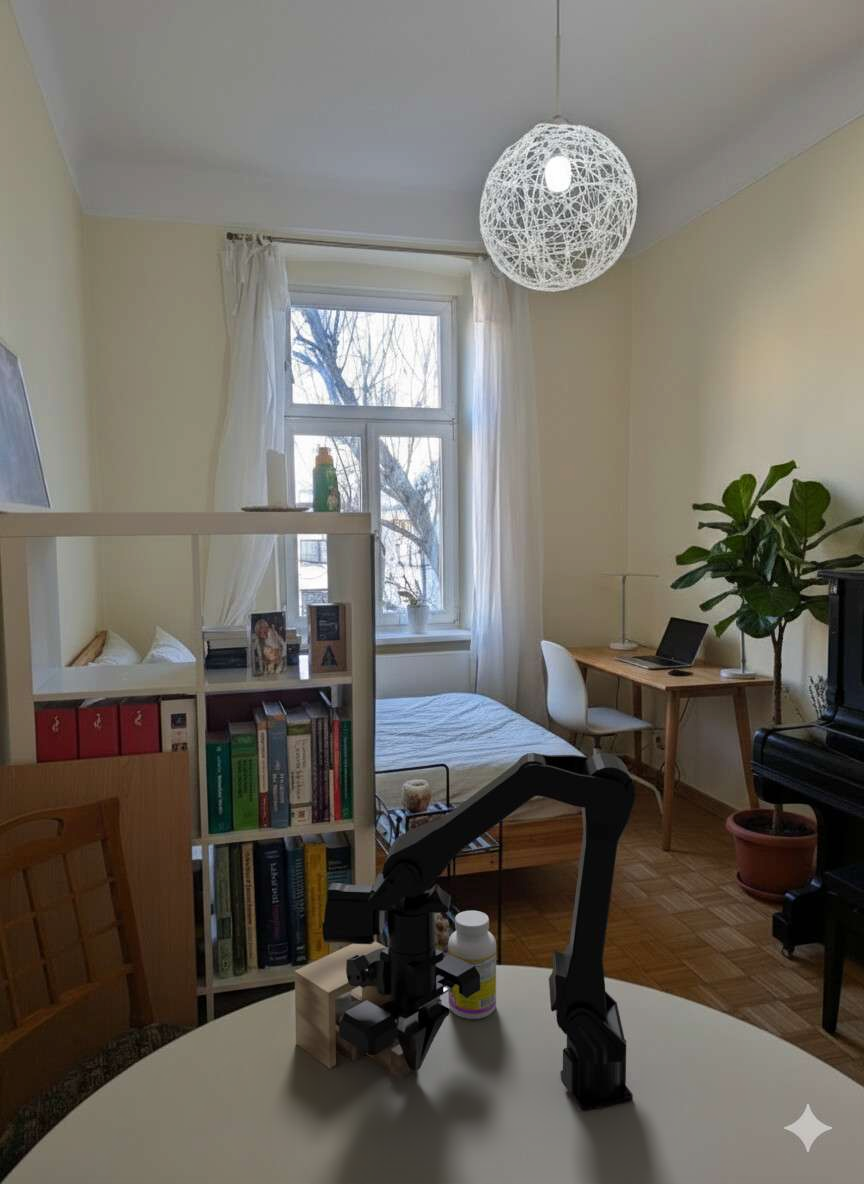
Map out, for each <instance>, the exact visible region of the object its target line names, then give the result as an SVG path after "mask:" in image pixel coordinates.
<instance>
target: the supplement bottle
mask: <svg viewBox="0 0 864 1184" xmlns="http://www.w3.org/2000/svg"><path fill="white" fill-rule="evenodd" d="M454 927H455V931H454V932H453V933H451V934H450V936H449V939H448V943H447V944H448V945H447V946H448V947H447V953H448V954H447V955H449V954H450V955H452V956H454V957H456V958H458V959H460V960H463V961H465V962H467V963H469V964H471V965H473V966H475V967H476V969H477V970H478V972H479V974H480V990H479V991H478V992H476V993H474V994H473V995H471V996H469V997H468V998H465V997H464V996H462V995H461V994H460V993H459V985H457V984H455V985H453V989H451V990H450V991H448V992H447V993H448V1007H449V1009H450V1011H452V1012H453V1013H454V1014H455V1015H456V1016H458V1017H460V1018H463V1019H468V1020H479V1019H483V1018H486V1017H488V1016H490V1015H491V1014H492V1013H493V1012H494V1011H495V1010H496V1007H497V941H496V938H495V936H494V935H493V934H492V933H491V931H489V928H490V918H489V916H488V915H487V914H486V913H485V912H482V911H478V910H465V911H461V912H458V913H457V914H456V915H455V917H454Z"/></svg>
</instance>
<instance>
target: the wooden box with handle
mask: <svg viewBox="0 0 864 1184" xmlns="http://www.w3.org/2000/svg"><path fill="white" fill-rule="evenodd" d="M364 1001H366V999H364V998H362V995H359V994H358V993H356V992H354V991H353V990H351V991H349V992H347V993H345V994H343V995H341V996H339V997H337V998H336V999H335V1031H336V1053H338V1054H340V1055H341V1056H343V1057H344V1058H346V1059H347V1060H348V1061H349V1062H352V1063H353V1062H355V1061H357V1060H358V1059H359V1058H361V1057H363V1056H364V1055H368V1054H366V1053H364V1052H363V1051H361V1050H360V1049H358V1048H357V1047H355V1046H354V1045H352V1044H351V1043H349V1042H348V1041H346V1040H344V1039H343V1038H341V1037H340V1036H339V1019H340V1016H341V1015H342V1014H343V1013H344V1012H346V1011H348V1010H349V1009H351V1008H353V1007H355V1006H357V1005H358V1004H360V1003H362V1002H364ZM368 1057H370V1058H372V1059H373V1060H375V1061H376V1062H377V1063H379V1064H381V1066H384V1067H385V1068H386V1069H388V1070H389V1071H390V1074H391V1075H393V1076H395V1077H396V1078H397V1079H399V1080H400V1079H401V1078H403V1077H405V1076H406V1075H407V1074H409V1073H411V1072H412V1071H413V1070H411V1069H410V1068H409V1066H408V1064H407V1061H406V1059H405V1056H404V1054H403V1051H402V1049H401V1046H400V1044H399V1043H398V1045H395V1044H394V1043H393V1044H392V1045H391V1046H389V1047H388V1048H386V1049H384V1050H383V1051H381V1052H380V1053H378V1054H376V1055H368Z"/></svg>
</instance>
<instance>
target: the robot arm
mask: <svg viewBox="0 0 864 1184" xmlns="http://www.w3.org/2000/svg"><path fill="white" fill-rule="evenodd" d="M535 797H543V798H548V799H551V800H555V801H557V802H561V803H564V804H566V805H569V806H573V807H580V808H581V814H582V815H581V816H582V817H581V818H582V825H583V826H582V827H583V832H582V841H581V849H580V855H579V856H580V858H579V865H578V874H577V882H576V891H575V898H574V906H573V913H572V921H571V929H570V937H569V938H570V939H569V941H568V944H567V946H566V948H565V950H564V952H561V951H558V950H552V961H553V967H552V971H551V974H550V975H549V977H548V988H549V999H550V1000H549V1001H550V1011H551V1012H555V1014H556V1015H555V1016H556V1023H557V1025H558V1026H557V1027H558V1028H559V1029H560V1030H561V1031H562V1032H563V1034H565V1035H566V1047H565V1048H563V1049H562V1069H561V1070H560V1077H561V1079H562V1082H563V1084H564V1085H565V1087H566V1088H567V1090H568V1092H569V1093H570V1095H572V1096H573V1097H574V1099H575V1101H576V1102H577V1104H578V1106H579V1107H580V1108H581V1109H582V1110H583V1111H588V1110H594V1109H598V1108H603V1107H608V1106H611V1105H618V1104H621V1103H625V1102H626V1103H627V1102H631V1101H633V1099H634V1098H633V1097H634V1095H633V1093H632V1092H631V1090H630V1089H629V1087H628V1086H627V1040H626V1039H625V1034H624V1029H623V1026H622V1021H621V1015H620V1010H619V1006H618V1003H617V1001H616V1000H615V999H614V998H613V997H612V996H611V995H610V994H609V993H608V992H607V991H606V983H605V970H604V953H605V944H606V943H605V942H606V936H607V931H608V929H607V928H608V922H609V914H610V906H611V897H612V891H613V882H614V875H615V866H616V858H617V851H618V846H619V843H620V840H621V838H622V836H623V834H624V833H625V830H626V829H627V826H628V824H629V821H630V818H631V815H632V812H633V809H634V806H635V803H636V799H637V787H636V785H635V781H633V778H632V776H631V774H630V772H629V770H628V767H627V765H626V764H625V763H624V762H623V760H622V759H621V758H619V757H618V756H617V755H614V754H611V753H608V752H607V753H606V752H605V753H604V752H599V753H597V754H593V755H592V756H583V755H577V754H555V755H554V754H553V755H549V754H543V753H536V752H530V753H529V752H528V753H526V754H523V755H522V756H521V757H520V758H519V759H518V760H517V761H516V763H515V764H513V765H511V766H510V768H508V769H507V770H505V771H504V772H502V773H501V774H499V775H498V776H497V777H496V778H494V779H493V780H492V781H491V782H488V783H487V784H486V785H485V786H483V787H482V788H480V789H479V790H477V792H476V793H474V794H472V795H471V796H470V797H468V798H467V799H466V800H464V801H463V802H462V803H461V804H459V805H458V806H456V807H455V808H453V810H451V811H450V812H449V813H447V814H446V815H444V816H443V817H440V818H438V819H437V820H434V821H430V822H426V823H422V824H421V825H419V826H417V827H415V828H413V829H410V830H408V831H406V832H404V833H403V834H401V835H399V836H398V837H396V839H395V840H394V841H393V842H392V844H391V846H390V849H389V851H388V854H387V855H386V859H385V861H384V864H383V869H382V870H381V871H380V873H378V874H377V875H376V879H375V881H374V883H373V885H366V884H364V885H363V884H346V883H340V882H332V883H330V885H329V887H328V888H327V891H326V903H325V908H324V917H323V921H322V923H321V924H322V925H321V926H322V929H321V930H322V937H323V940H324V943H325V944H347V945H348V944H349V945H351V944H373V942H375V941H376V936H381V937H382V935H383V933H384V928H385V912H386V913H387V914H386V916H387V917H386V918H387V920H386V921H387V926H386V927H387V948H381V949H377V950H375V951H373V952H371V953H369V954H367V955H361V956H359V955H355V956H353V957H351V958H349V959H347V965H346V974H347V979H348V982H349V984H350V985H351V986H358V987H360V988H361V989H362V988H365V987H366V986H377V993H379V994H381V995H383V996H385V995H388V996H390V1001H388V1002H386V1003H384V1004H382V1005H381V1006H379V1007H378V1006H376V1005H374V1004H373V1003H371V1002H369V1001H367V1000H366V1001H364V1002H362V1003H360V1004H358V1005H357V1006H355V1007H353V1008H351V1009H349V1010H348V1011H346V1012H344V1013H343V1014H342V1015H341V1016H340V1019H339V1036H340V1037H341V1038H343V1039H344V1040H346V1041H348V1042H349V1043H351V1044H352V1045H354V1046H355V1047H357V1048H358V1049H360V1050H361V1051H363V1052H364V1053H366V1054H365V1055H367V1054H368V1056H369V1055H376V1054H378V1053H380V1052H381V1051H383V1050H384V1049H386V1048H388V1047H389V1046H391V1045H392V1044H393V1045H394V1042H395V1041H396V1039H397V1041H398V1045H399V1044H400V1046H401V1049H402V1051H403V1054H404V1056H405V1059H406V1061H407V1064H408V1066H409V1068H410V1069H411V1070H412V1071H413V1072H414V1073H415V1072H417V1071H419V1070H420V1069H421V1067H422V1065H423V1063H424V1061H425V1059H426V1056H427V1055H428V1052H429V1051H430V1048H431V1046H432V1044H433V1041H434V1040H435V1038H436V1036H437V1034H438V1032H439V1031H440V1029H441V1027H442V1025H443V1023H444V1021H445V1019H446V1018H447V1017H448V1016H450V1013H451V1008H450V1007H447V1006H445V1005H443V1004H442V1001H443V1000H442V999H441V996H443V995H445V994H447V993H448V991H450V990H451V989H453V985H455V984H457V985H459V993H460V994H461V995H462V996H464V997H465V998H468V997H469V996H471V995H473V994H474V993H476V992H478V991H479V990H480V974H479V972H478V970H477V969H476V967H475V966H473V965H471V964H469V963H467V962H465V961H463V960H460V959H458V958H456V957H454V956H452V955H450V954H449V955H448V954H447V955H446V956H444V952H443V951H442V950H440V949H437V948H436V914H437V913H439V914H447V913H448V912H449V911H450V904H451V899H452V897H451V895H450V894H449V893H448V892H446V891H445V890H443V889H442V888H441V887H440V885H439V884H437V883H436V884H434V885H433V883H434V882H435V881H436V880H437V879H439V877H441V875H442V874H443V872H444V871H445V870H446V869H447V867H448V866H449V865H450V864H451V862H452V861H453V859H454V858H455V857H456V856H457V855H458V854H459V853H460V852H461V851H462V850H463V849H465V848H466V847H467V846H469V845H471V844H472V843H473V842H475V841H476V840H477V839H478V838H480V837H481V836H483V835H485V834H486V833H487V832H488V831H489V830H491V829H492V828H493V827H495V826H496V825H498V824H499V823H500V822H502V821H503V820H504V819H506V818H507V817H508V816H510V815H511V814H513V813H514V812H515V811H517V810H518V809H519V808H521V807H522V806H524V805H526V804H527V803H528V802H529V801H531V799H534V798H535ZM432 885H433V886H432ZM431 886H432V888H431ZM429 888H430V889H429Z"/></svg>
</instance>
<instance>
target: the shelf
mask: <svg viewBox="0 0 864 1184" xmlns="http://www.w3.org/2000/svg"><path fill="white" fill-rule="evenodd" d="M381 948H388V946H385V945H383V944H381V943H379V942H377V941H376V940H375V942H373V944H349V945H347V946H344V947H343V948H340V949H338V950H336V951H335V952H332V953H330V954H327V955H326V956H324V957H322V958H319V959H317V960H315V961H313V962H310V963H309V964H306V965H304V966H302V967H300V968H298V969H296V970H294V997H295V999H294V1003H295V1004H294V1005H295V1007H294V1008H295V1010H294V1011H295V1015H294V1016H295V1043H296V1045H298V1047H300V1048H302V1049H303V1050H304V1051H306V1052H307V1053H308V1054H310V1055H311V1056H312V1057H314V1058H315V1059H316V1060H317V1061H319V1062H321V1063H322V1064H323V1065H324V1066H326V1067H327V1068H328V1069H331V1068H333V1067H334V1066H336V1064H337V1051H336V1031H335V999H336V998H337V997H339V996H341V995H343V994H345V993H347V992H349V991H353V990H354V989H357V988H358V987H359V986H351V985H350V984H349V982H348V979H347V974H346V965H347V959H349V958H351V957H353V956H355V955H359V956H361V955H367V954H369V953H371V952H373V951H375V950H377V949H381ZM361 997H362V998H364V999H366V1000H367V1001H369V1002H371V1003H373V1004H374V1005H376V1006H378V1007H379V1006H381V1005H382V1004H384V1003H386V1002H388V1001H390V996H388V995H385V996H383V995H381V994H379V993H377V986H366V987H365V988H361Z"/></svg>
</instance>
